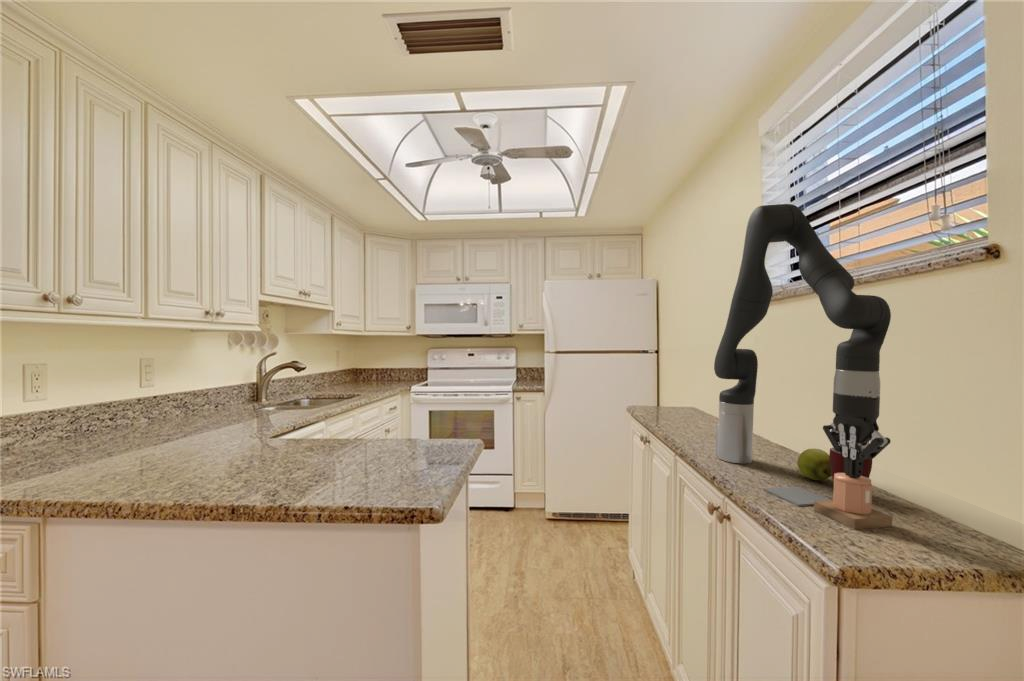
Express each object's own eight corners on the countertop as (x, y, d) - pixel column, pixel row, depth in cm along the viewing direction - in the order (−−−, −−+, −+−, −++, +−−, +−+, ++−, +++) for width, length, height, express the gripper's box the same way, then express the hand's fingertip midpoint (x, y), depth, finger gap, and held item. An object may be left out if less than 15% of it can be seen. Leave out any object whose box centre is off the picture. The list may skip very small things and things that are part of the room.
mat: (763, 489, 105) (763, 488, 105) (798, 488, 107) (798, 486, 107) (798, 506, 95) (798, 504, 95) (836, 503, 97) (836, 502, 97)
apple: (820, 474, 118) (821, 445, 118) (842, 486, 109) (843, 454, 109) (790, 473, 119) (791, 444, 119) (809, 484, 110) (810, 453, 110)
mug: (887, 505, 97) (888, 460, 97) (847, 502, 98) (849, 458, 98) (856, 488, 108) (858, 448, 108) (821, 486, 109) (822, 446, 109)
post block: (813, 510, 93) (815, 478, 93) (848, 508, 95) (849, 476, 95) (854, 529, 84) (855, 493, 84) (892, 526, 86) (893, 491, 86)
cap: (826, 503, 92) (827, 473, 92) (849, 502, 93) (850, 472, 93) (855, 515, 86) (855, 483, 86) (879, 513, 87) (880, 481, 87)
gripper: (812, 388, 95) (809, 467, 95) (873, 397, 82) (870, 488, 82) (841, 388, 97) (838, 466, 97) (905, 397, 84) (902, 487, 84)
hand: (853, 476), depth 90 cm, fingers closed
